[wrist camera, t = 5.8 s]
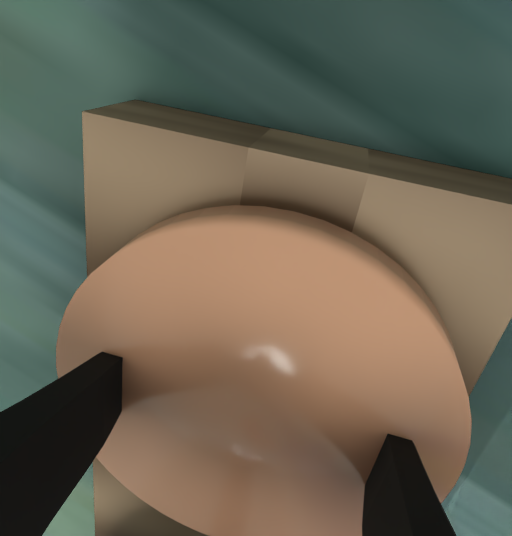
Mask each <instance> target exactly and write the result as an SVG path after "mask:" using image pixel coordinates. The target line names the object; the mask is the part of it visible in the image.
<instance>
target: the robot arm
mask: <svg viewBox="0 0 512 536" xmlns="http://www.w3.org/2000/svg"><path fill="white" fill-rule="evenodd" d="M122 367H123V357H119V356H116V355H112V354H109V353H105V352H100V353H99V354H97V355H95V356H94V357H92V358H90V359H89V360H87V361H86V362H84V363H82V364H81V365H79V366H78V367H76V368H74V369H73V370H71V371H70V372H68V373H67V374H65V375H63V376H62V377H60V378H59V379H57V380H55V381H54V382H52V383H50V384H49V385H47V386H45V387H44V388H42V389H40V390H39V391H37V392H35V393H34V394H32V395H30V396H29V397H27V398H25V399H23V400H22V401H20V402H18V403H16V404H14V405H13V406H11V407H9V408H7V409H5V410H4V411H2V412H0V536H42V535H43V533H44V532H45V530H46V528H47V527H48V525H49V524H50V522H51V521H52V519H53V518H54V516H55V515H56V514H57V512H58V511H59V509H60V508H61V506H62V505H63V504H64V502H65V501H66V499H67V498H68V496H69V495H70V493H71V492H72V491H73V489H74V488H75V486H76V485H77V483H78V482H79V481H80V479H81V478H82V476H83V475H84V473H85V472H86V471H87V469H88V468H89V466H90V465H91V463H92V462H93V460H94V459H95V457H96V456H97V455H98V453H99V452H100V450H101V449H102V447H103V446H104V444H105V442H106V440H107V439H108V437H109V435H110V433H111V431H112V429H113V427H114V426H115V424H116V422H117V420H118V418H119V416H120V414H121V412H122ZM362 536H456V534H455V532H454V530H453V528H452V526H451V524H450V521H449V519H448V517H447V515H446V513H445V511H444V509H443V507H442V505H441V503H440V501H439V499H438V497H437V494H436V492H435V490H434V488H433V486H432V483H431V481H430V479H429V477H428V474H427V472H426V470H425V468H424V465H423V463H422V461H421V458H420V456H419V454H418V451H417V449H416V446H415V444H414V443H413V441H412V440H409V439H405V438H402V437H398V436H395V435H391V434H387V436H386V438H385V441H384V443H383V445H382V448H381V450H380V452H379V454H378V457H377V459H376V461H375V463H374V466H373V468H372V470H371V472H370V475H369V477H368V479H367V481H366V484H365V490H364V502H363V517H362Z"/></svg>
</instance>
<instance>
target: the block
mask: <svg viewBox="0 0 512 536" xmlns="http://www.w3.org/2000/svg"><path fill="white" fill-rule="evenodd" d="M82 125H83V157H84V190H85V222H86V254H87V277H88V276H89V275H90V274H91V273H92V272H93V271H94V270H96V269H97V268H98V267H99V266H100V265H102V264H103V263H104V262H105V261H107V260H108V259H109V258H110V257H111V256H113V255H114V254H115V253H116V252H117V251H119V250H120V249H121V248H122V247H124V246H125V245H126V244H127V243H128V242H130V241H131V240H132V239H133V238H135V237H136V236H137V235H138V234H140V233H142V232H143V231H145V230H147V229H149V228H150V227H152V226H154V225H155V224H157V223H159V222H162V221H164V220H167V219H169V218H172V217H174V216H177V215H179V214H182V213H187V212H191V211H195V210H200V209H204V208H210V207H220V206H231V205H244V206H265V207H271V208H277V209H283V210H289V211H295V212H298V213H301V214H305V215H308V216H311V217H315V218H318V219H322V220H324V221H327V222H329V223H331V224H334V225H336V226H338V227H340V228H343V229H345V230H347V231H349V232H352V233H353V234H355V235H357V236H358V237H360V238H362V239H363V240H365V241H367V242H368V243H370V244H372V245H373V246H375V247H377V248H378V249H380V250H381V251H382V252H383V253H385V254H386V255H387V256H388V257H390V258H391V259H392V260H394V261H395V262H396V263H397V264H399V265H400V266H401V267H402V268H403V269H404V270H405V271H406V272H407V273H408V274H409V275H410V276H411V277H412V278H413V279H414V280H415V281H416V282H417V283H418V284H419V286H420V287H421V288H422V289H423V290H424V292H425V293H426V295H427V296H428V297H429V299H430V300H431V302H432V303H433V304H434V306H435V307H436V309H437V310H438V312H439V314H440V316H441V318H442V320H443V322H444V324H445V326H446V328H447V330H448V332H449V335H450V338H451V341H452V344H453V347H454V350H455V353H456V357H457V360H458V363H459V367H460V370H461V373H462V377H463V380H464V383H465V387H466V390H467V394H468V397H469V395H470V393H471V392H472V390H473V388H474V386H475V384H476V382H477V380H478V379H479V377H480V375H481V373H482V371H483V369H484V367H485V366H486V364H487V362H488V360H489V358H490V356H491V355H492V353H493V351H494V349H495V347H496V345H497V343H498V342H499V340H500V338H501V336H502V334H503V332H504V330H505V329H506V327H507V325H508V323H509V321H510V319H511V317H512V179H510V178H505V177H501V176H496V175H491V174H486V173H482V172H477V171H472V170H467V169H463V168H458V167H453V166H448V165H444V164H439V163H434V162H429V161H425V160H420V159H415V158H410V157H406V156H401V155H396V154H391V153H386V152H382V151H377V150H372V149H367V148H363V147H358V146H353V145H348V144H344V143H339V142H334V141H329V140H325V139H320V138H315V137H310V136H306V135H301V134H296V133H291V132H287V131H282V130H277V129H272V128H267V127H263V126H258V125H253V124H248V123H244V122H239V121H234V120H229V119H225V118H220V117H215V116H210V115H206V114H201V113H196V112H191V111H187V110H182V109H177V108H172V107H168V106H163V105H158V104H153V103H149V102H144V101H139V100H132V101H127V102H123V103H118V104H113V105H109V106H104V107H100V108H95V109H91V110H86V111H82ZM93 480H94V513H95V536H209V535H206V534H203V533H201V532H198V531H196V530H194V529H192V528H190V527H187V526H185V525H183V524H181V523H179V522H177V521H175V520H173V519H172V518H170V517H168V516H166V515H164V514H163V513H161V512H159V511H158V510H156V509H155V508H153V507H152V506H150V505H149V504H147V503H146V502H144V501H143V500H141V499H140V498H139V497H137V496H136V495H135V494H134V493H132V492H131V491H130V490H128V489H127V488H126V487H125V486H124V485H123V484H121V483H120V482H119V481H118V480H117V479H116V478H115V477H114V476H113V475H112V474H111V473H110V472H109V471H108V470H107V469H106V468H105V467H104V466H103V465H102V463H101V462H100V461H99V460H98V459H97V458H96V457H95V459H94V460H93Z"/></svg>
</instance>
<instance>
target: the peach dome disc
mask: <svg viewBox="0 0 512 536" xmlns="http://www.w3.org/2000/svg"><path fill="white" fill-rule="evenodd" d="M100 352H105V353H109V354H112V355H116V356H119V357H123V367H122V412H121V414H120V416H119V418H118V420H117V422H116V424H115V426H114V427H113V429H112V431H111V433H110V435H109V437H108V439H107V440H106V442H105V444H104V446H103V447H102V449H101V450H100V452H99V453H98V455H97V456H96V458H97V459H98V460H99V461H100V462H101V463H102V465H103V466H104V467H105V468H106V469H107V470H108V471H109V472H110V473H111V474H112V475H113V476H114V477H115V478H116V479H117V480H118V481H119V482H120V483H121V484H123V485H124V486H125V487H126V488H127V489H128V490H130V491H131V492H132V493H134V494H135V495H136V496H137V497H139V498H140V499H141V500H143V501H144V502H146V503H147V504H149V505H150V506H152V507H153V508H155V509H156V510H158V511H159V512H161V513H163V514H164V515H166V516H168V517H170V518H172V519H173V520H175V521H177V522H179V523H181V524H183V525H185V526H187V527H190V528H192V529H194V530H196V531H198V532H201V533H203V534H206V535H209V536H362V517H363V502H364V490H365V484H366V481H367V479H368V477H369V475H370V472H371V470H372V468H373V466H374V463H375V461H376V459H377V457H378V454H379V452H380V450H381V448H382V445H383V443H384V441H385V438H386V436H387V434H391V435H395V436H398V437H402V438H405V439H409V440H412V441H413V443H414V444H415V446H416V449H417V451H418V454H419V456H420V458H421V461H422V463H423V465H424V468H425V470H426V472H427V474H428V477H429V479H430V481H431V483H432V486H433V488H434V490H435V492H436V494H437V497H438V499H439V501H440V503H442V502H443V501H444V499H445V498H446V497H447V495H448V494H449V493H450V491H451V490H452V488H453V487H454V486H455V484H456V482H457V480H458V478H459V476H460V474H461V472H462V470H463V468H464V465H465V462H466V458H467V454H468V450H469V447H470V439H471V422H472V420H471V413H470V405H469V397H468V394H467V390H466V387H465V383H464V380H463V377H462V373H461V370H460V367H459V363H458V360H457V357H456V353H455V350H454V347H453V344H452V341H451V338H450V335H449V332H448V330H447V328H446V326H445V324H444V322H443V320H442V318H441V316H440V314H439V312H438V310H437V309H436V307H435V306H434V304H433V303H432V302H431V300H430V299H429V297H428V296H427V295H426V293H425V292H424V290H423V289H422V288H421V287H420V286H419V284H418V283H417V282H416V281H415V280H414V279H413V278H412V277H411V276H410V275H409V274H408V273H407V272H406V271H405V270H404V269H403V268H402V267H401V266H400V265H399V264H397V263H396V262H395V261H394V260H392V259H391V258H390V257H388V256H387V255H386V254H385V253H383V252H382V251H381V250H380V249H378V248H377V247H375V246H373V245H372V244H370V243H368V242H367V241H365V240H363V239H362V238H360V237H358V236H357V235H355V234H353V233H352V232H349V231H347V230H345V229H343V228H340V227H338V226H336V225H334V224H331V223H329V222H327V221H324V220H322V219H318V218H315V217H311V216H308V215H305V214H301V213H298V212H295V211H289V210H283V209H277V208H271V207H265V206H244V205H231V206H220V207H210V208H204V209H200V210H195V211H191V212H187V213H182V214H179V215H177V216H174V217H172V218H169V219H167V220H164V221H162V222H159V223H157V224H155V225H154V226H152V227H150V228H149V229H147V230H145V231H143V232H142V233H140V234H138V235H137V236H136V237H135V238H133V239H132V240H131V241H130V242H128V243H127V244H126V245H125V246H124V247H122V248H121V249H120V250H119V251H117V252H116V253H115V254H114V255H113V256H111V257H110V258H109V259H108V260H107V261H105V262H104V263H103V264H102V265H100V266H99V267H98V268H97V269H96V270H94V271H93V272H92V273H91V274H90V275H89V276H88V277H87V279H86V280H85V281H84V282H83V283H82V284H81V286H80V287H79V288H78V289H77V290H76V292H75V294H74V296H73V297H72V299H71V301H70V303H69V304H68V306H67V308H66V310H65V313H64V316H63V319H62V322H61V324H60V327H59V333H58V339H57V345H56V368H57V374H58V379H59V378H60V377H62V376H63V375H65V374H67V373H68V372H70V371H71V370H73V369H74V368H76V367H78V366H79V365H81V364H82V363H84V362H86V361H87V360H89V359H90V358H92V357H94V356H95V355H97V354H99V353H100Z"/></svg>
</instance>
